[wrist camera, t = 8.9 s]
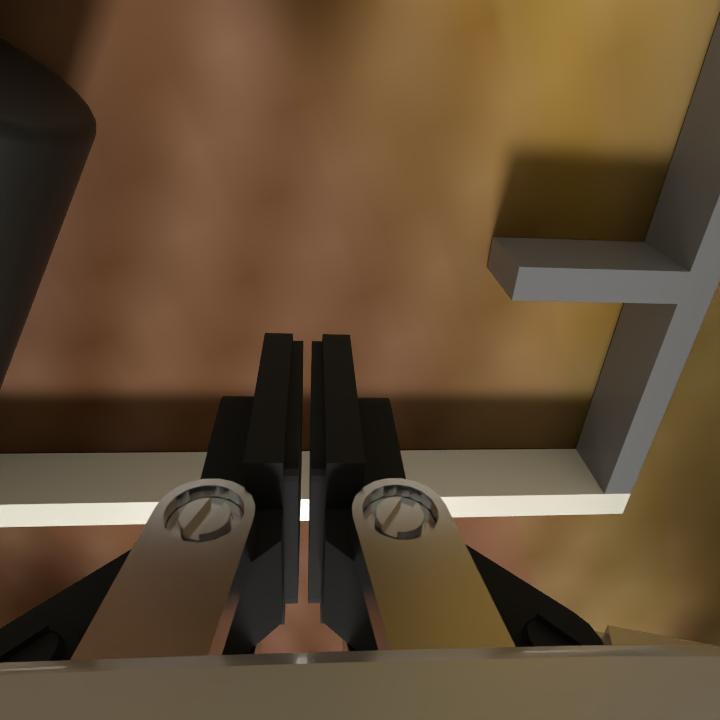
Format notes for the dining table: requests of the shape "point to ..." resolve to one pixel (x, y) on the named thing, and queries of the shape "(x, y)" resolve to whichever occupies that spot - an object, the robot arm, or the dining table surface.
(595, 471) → the finger lane
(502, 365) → the dining table surface
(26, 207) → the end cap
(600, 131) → the dining table surface
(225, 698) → the robot arm
